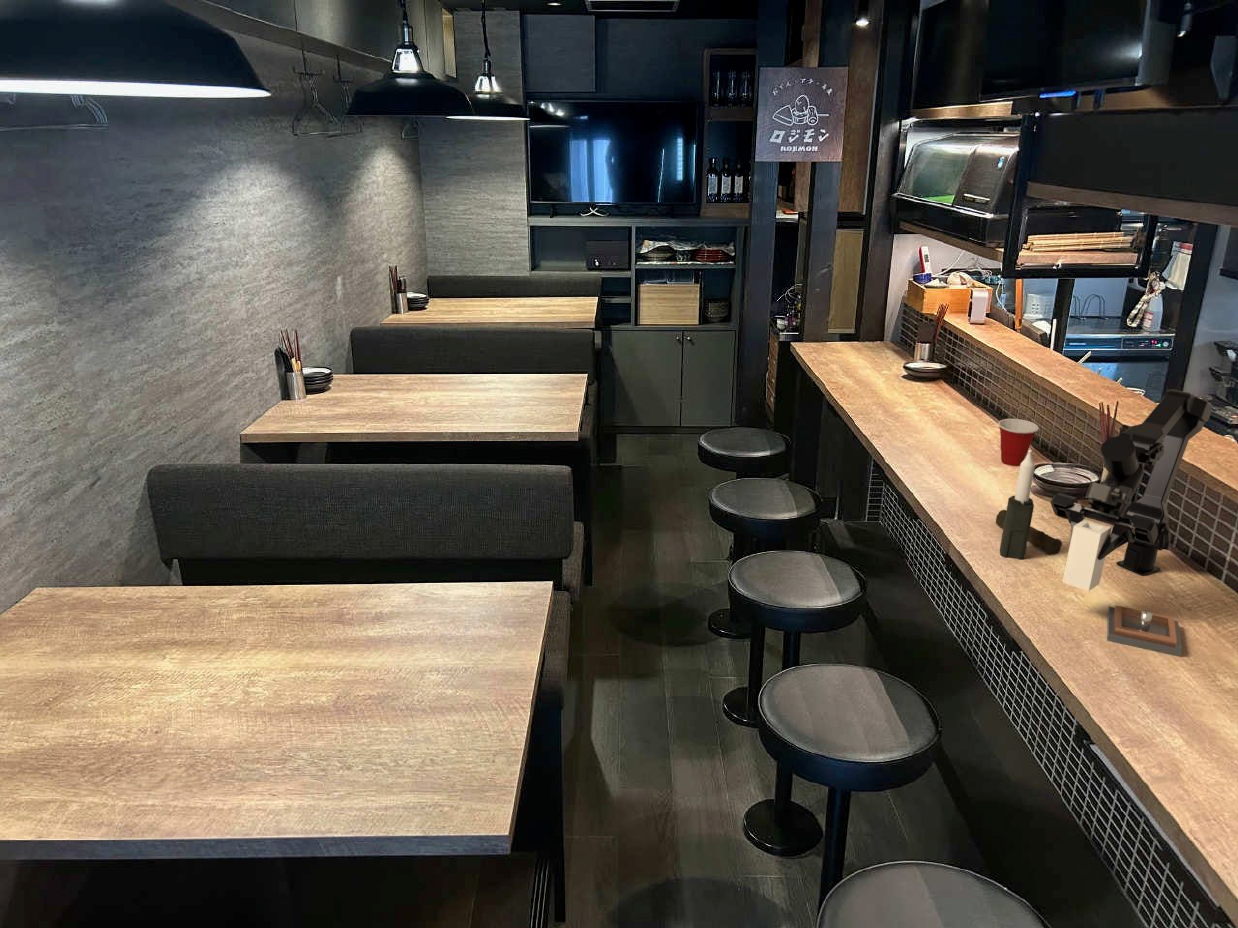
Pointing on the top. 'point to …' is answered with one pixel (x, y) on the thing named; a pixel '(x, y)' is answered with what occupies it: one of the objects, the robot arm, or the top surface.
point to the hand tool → (1035, 537)
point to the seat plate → (1144, 630)
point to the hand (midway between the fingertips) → (1084, 554)
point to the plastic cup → (1015, 440)
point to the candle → (1019, 513)
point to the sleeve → (1086, 555)
